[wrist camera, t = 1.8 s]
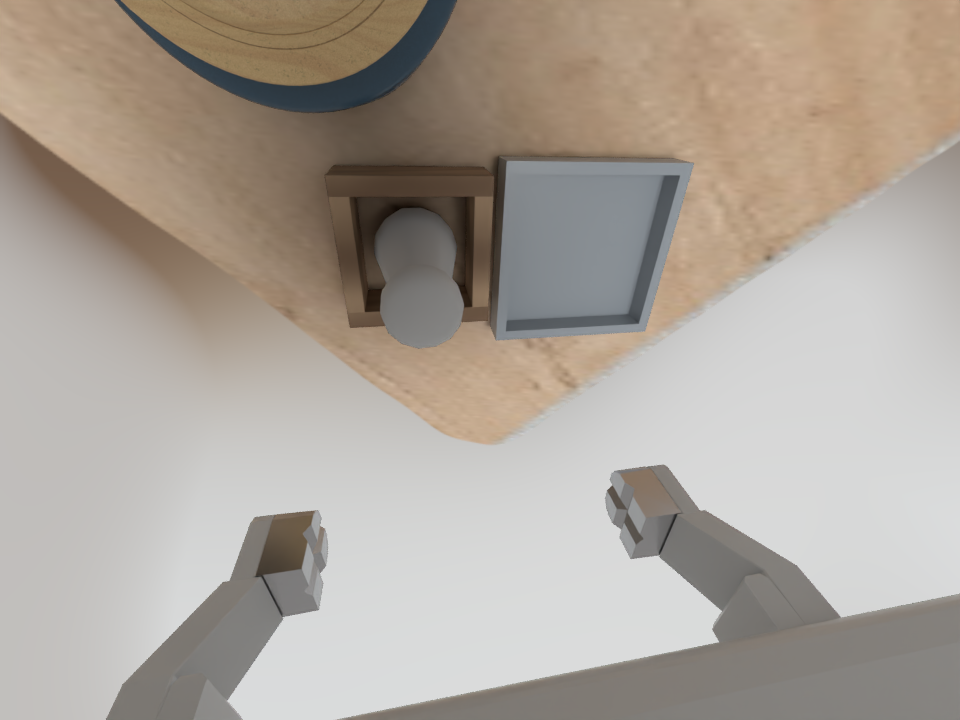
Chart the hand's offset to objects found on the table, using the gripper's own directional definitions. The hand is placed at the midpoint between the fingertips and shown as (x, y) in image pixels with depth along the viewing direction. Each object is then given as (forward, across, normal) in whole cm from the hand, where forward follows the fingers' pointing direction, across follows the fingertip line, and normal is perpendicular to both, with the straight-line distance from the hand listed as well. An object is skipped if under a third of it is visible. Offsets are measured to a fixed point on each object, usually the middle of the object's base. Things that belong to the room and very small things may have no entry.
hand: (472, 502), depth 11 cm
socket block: (+24, +1, 0) cm, 24 cm away
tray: (+24, -12, +1) cm, 27 cm away
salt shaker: (+24, +1, 0) cm, 24 cm away
